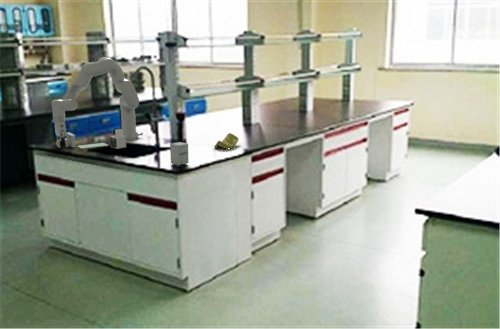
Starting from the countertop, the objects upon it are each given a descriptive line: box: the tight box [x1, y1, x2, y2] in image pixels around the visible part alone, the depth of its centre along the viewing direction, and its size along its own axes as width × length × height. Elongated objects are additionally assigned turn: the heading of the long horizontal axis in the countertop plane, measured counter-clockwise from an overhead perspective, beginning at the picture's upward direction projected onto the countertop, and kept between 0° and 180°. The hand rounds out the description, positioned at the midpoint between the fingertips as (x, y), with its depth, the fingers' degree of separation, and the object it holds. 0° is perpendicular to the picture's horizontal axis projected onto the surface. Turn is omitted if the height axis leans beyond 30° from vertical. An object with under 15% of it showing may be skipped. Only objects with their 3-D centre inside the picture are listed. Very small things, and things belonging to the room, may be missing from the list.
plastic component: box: [213, 132, 240, 150], centre depth 353 cm, size 20×7×10 cm
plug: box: [55, 137, 80, 149], centre depth 354 cm, size 14×4×5 cm, turn 124°
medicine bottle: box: [109, 128, 127, 150], centre depth 350 cm, size 7×7×12 cm
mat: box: [76, 142, 109, 150], centre depth 355 cm, size 18×9×1 cm, turn 123°
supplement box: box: [169, 141, 189, 165], centre depth 304 cm, size 7×7×13 cm
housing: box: [65, 132, 77, 148], centre depth 355 cm, size 2×12×8 cm, turn 34°
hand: (61, 145), depth 353 cm, fingers open, 6 cm apart
